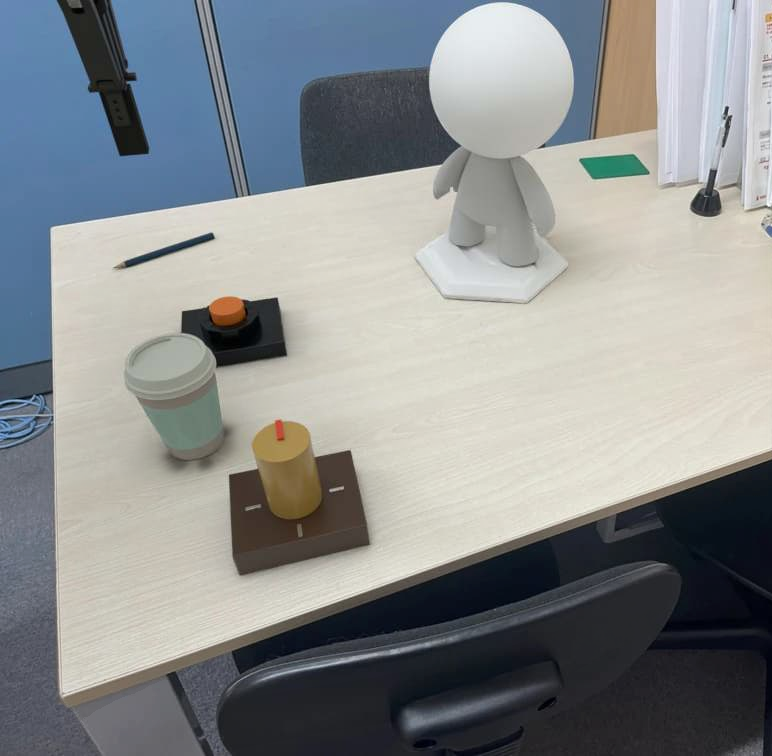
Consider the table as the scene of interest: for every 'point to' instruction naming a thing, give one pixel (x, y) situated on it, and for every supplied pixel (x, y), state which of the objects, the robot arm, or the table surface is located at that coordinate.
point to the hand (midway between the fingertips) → (134, 151)
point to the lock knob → (288, 469)
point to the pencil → (166, 250)
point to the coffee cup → (178, 392)
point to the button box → (240, 333)
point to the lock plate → (296, 536)
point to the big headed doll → (497, 152)
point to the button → (227, 311)
